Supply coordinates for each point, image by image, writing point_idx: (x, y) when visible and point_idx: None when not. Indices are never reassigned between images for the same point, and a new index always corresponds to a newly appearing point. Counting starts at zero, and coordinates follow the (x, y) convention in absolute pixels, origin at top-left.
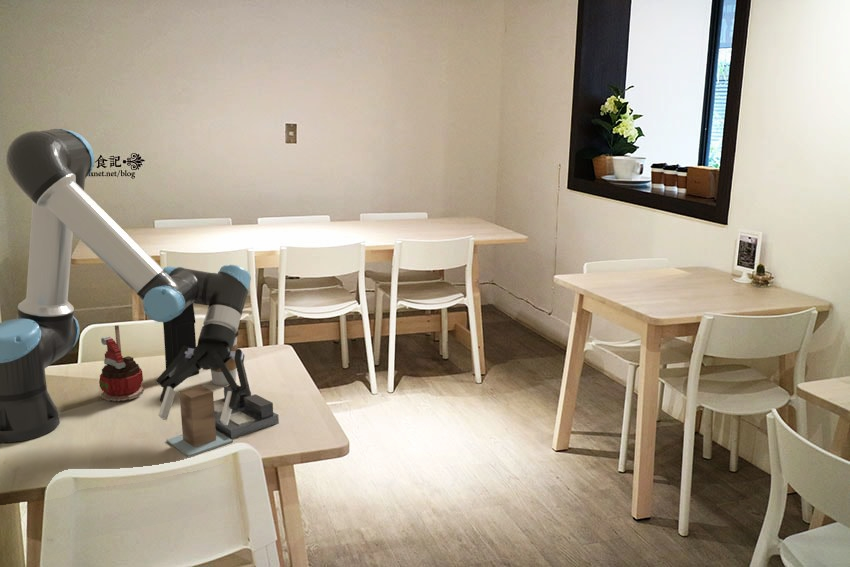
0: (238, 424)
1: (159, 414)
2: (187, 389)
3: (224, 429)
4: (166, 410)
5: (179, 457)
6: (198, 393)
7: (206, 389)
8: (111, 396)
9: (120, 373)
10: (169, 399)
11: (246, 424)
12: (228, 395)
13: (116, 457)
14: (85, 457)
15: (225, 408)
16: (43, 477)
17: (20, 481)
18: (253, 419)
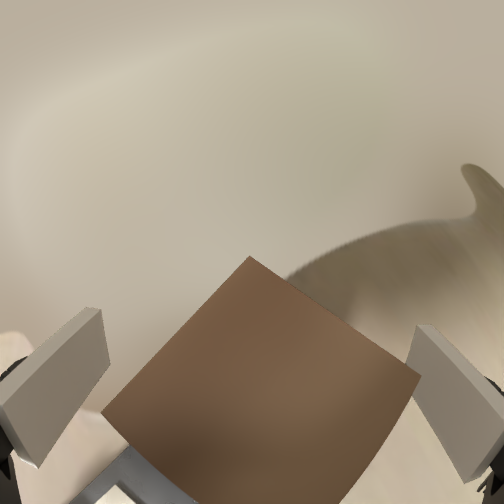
0: (115, 484)
1: (428, 325)
2: (374, 431)
3: None
4: (425, 372)
5: None
6: (220, 355)
7: (180, 464)
8: None
9: None
10: (455, 406)
11: (93, 490)
12: (12, 382)
13: (434, 270)
14: (482, 261)
15: (57, 336)
16: (472, 188)
17: (484, 179)
18: None
